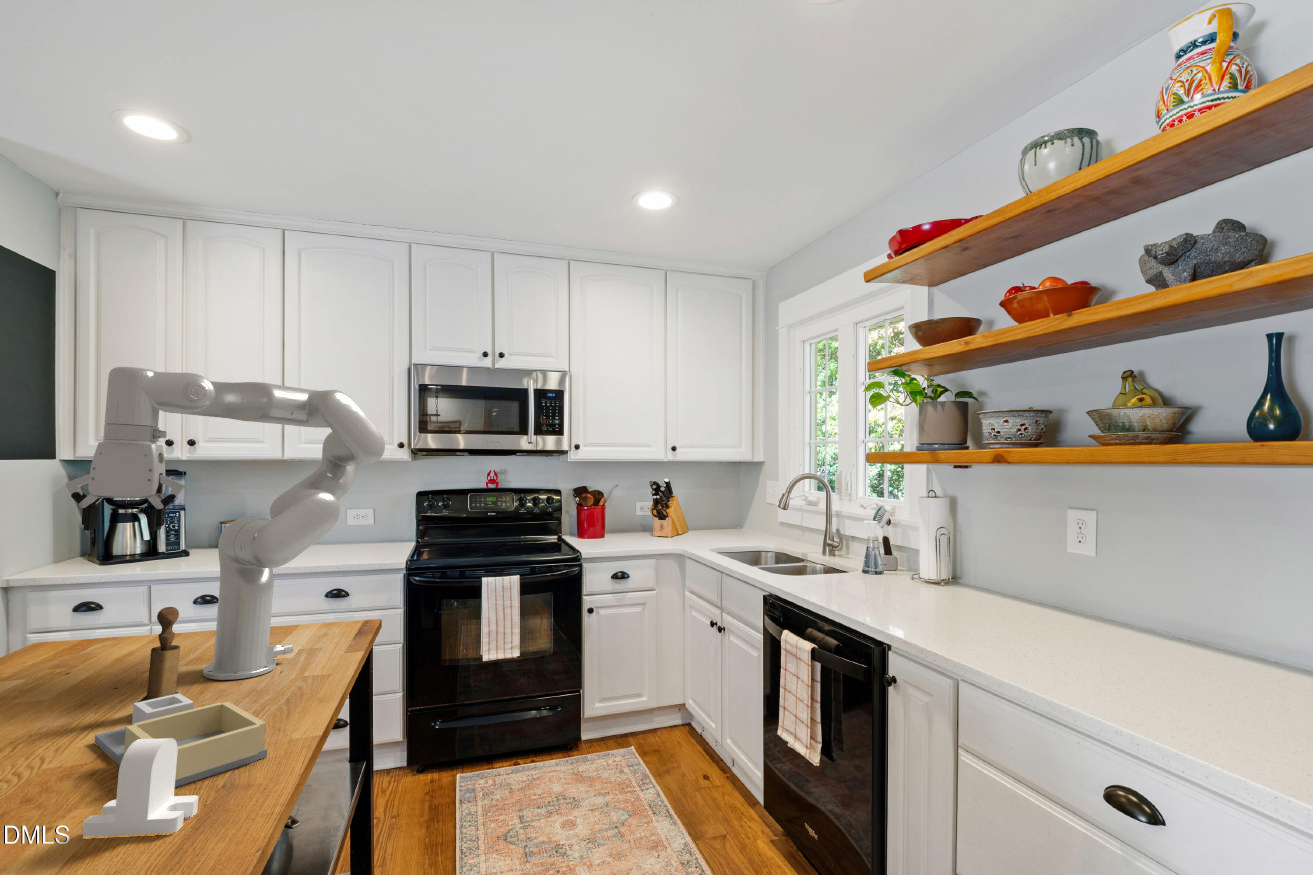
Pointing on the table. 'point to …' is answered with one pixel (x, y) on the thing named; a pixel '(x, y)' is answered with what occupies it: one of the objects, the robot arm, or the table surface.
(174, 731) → the socket board
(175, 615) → the brown pepper mill
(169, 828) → the cable organizer
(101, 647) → the table surface
